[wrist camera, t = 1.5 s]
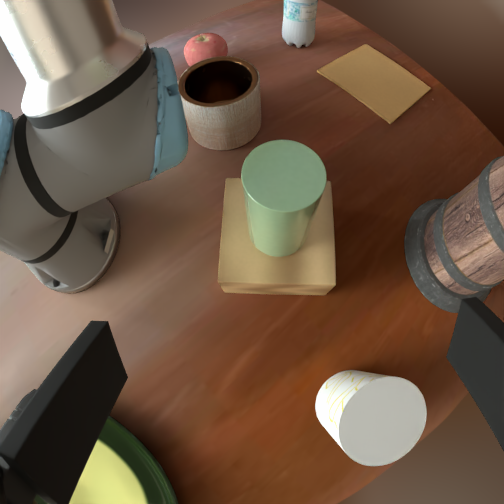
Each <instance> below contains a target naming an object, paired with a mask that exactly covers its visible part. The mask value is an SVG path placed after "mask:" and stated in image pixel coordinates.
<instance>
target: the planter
mask: <svg viewBox="0 0 504 504" xmlns="http://www.w3.org/2000/svg"><path fill="white" fill-rule="evenodd" d="M178 87H179V90H178V91H179V93H180V95H181V99H182V103H183V108H184V113H185V118H186V121H187V125H188V128H189V131H190V134H191V136H192V137H193V139H194V140H195V141H196V142H197V143H198V144H199V145H201V146H203V147H205V148H208V149H211V150H220V151H223V150H231V149H235V148H238V147H241V146H243V145H245V144H247V143H248V142H249V141H251V140H252V139H253V138H254V137H255V136H256V134H257V133H258V131H259V129H260V125H261V99H260V76H259V73H258V70H257V69H256V68H255V66H254V65H252V64H251V63H250V62H248V61H246V60H244V59H241V58H237V57H231V56H218V57H212V58H208V59H204V60H202V61H199V62H197V63H195V64H193V65H192V66H190V67H189V68H188V69H187V70H186V71H184V73H183V74H182V75H181V77H180V78H179V81H178Z"/></svg>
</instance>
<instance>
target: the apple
mask: <svg viewBox="0 0 504 504" xmlns="http://www.w3.org/2000/svg"><path fill="white" fill-rule="evenodd" d="M227 53H228V49H227V43H226V41H225V40H224V39H223V38H222V37H221V36H219V35H217V34H214V33H203V34H199V35H196V36H194V37H193V38H191V39H190V40H189V41H188V42H187V43H186V45H185V48H184V56H185V59H186V61H187V63H188V65H189V66H192V65H193V64H195V63H197V62H199V61H202V60H204V59H208V58H212V57H218V56H227Z"/></svg>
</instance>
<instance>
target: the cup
mask: <svg viewBox="0 0 504 504" xmlns="http://www.w3.org/2000/svg"><path fill="white" fill-rule="evenodd" d="M315 408H316V414H317V417H318V419H319V421H320V423H321V424H322V425H323V426H324V428H325V429H326V430H327V431H328V432H329V434H330V435H331V436H332V437H333V438H334V440H335V441H336V442H337V443H338V444H339V446H340V447H341V448H342V449H343V450H344V451H345V453H346V454H347V455H348V456H349V457H350V458H351V459H353V460H354V461H356V462H358V463H360V464H363V465H367V466H381V465H386V464H389V463H392V462H394V461H396V460H398V459H400V458H401V457H403V456H404V455H405V454H407V453H408V452H409V451H410V450H411V449H412V448H413V447H414V445H415V444H416V443H417V441H418V440H419V438H420V436H421V434H422V432H423V430H424V426H425V423H426V414H427V411H426V403H425V400H424V397H423V395H422V393H421V392H420V390H419V389H418V388H417V387H416V386H415V385H414V384H413V383H411V382H410V381H408V380H406V379H403V378H400V377H394V376H387V375H381V374H375V373H369V372H363V371H357V370H347V371H342V372H339V373H337V374H335V375H333V376H332V377H330V378H329V379H328V380H327V381H326V382H325V383H324V384H323V385H322V387H321V389H320V390H319V392H318V395H317V398H316V405H315Z"/></svg>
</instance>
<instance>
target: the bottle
mask: <svg viewBox="0 0 504 504" xmlns="http://www.w3.org/2000/svg"><path fill="white" fill-rule="evenodd" d="M317 2H318V0H284V18H283V25H282V37H283V39H284V40H285V41H286V43H287V44H288V45H290V46H291V45H292V44H293V43H294V44H296V47H297V48H300V47H301V46H302V45H303V44H304V46H305V47H307V46H309V45H310V44H311V42H312V41H313V39H314V36H315V20H316V11H317Z"/></svg>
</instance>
